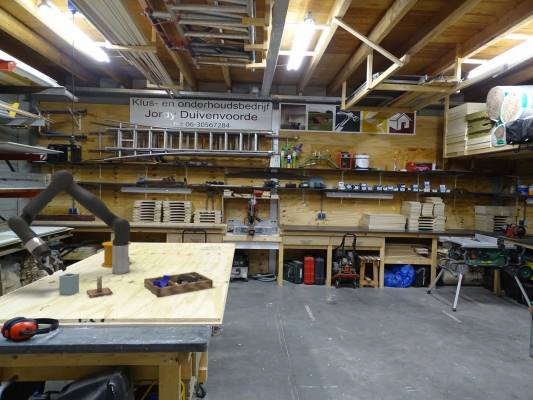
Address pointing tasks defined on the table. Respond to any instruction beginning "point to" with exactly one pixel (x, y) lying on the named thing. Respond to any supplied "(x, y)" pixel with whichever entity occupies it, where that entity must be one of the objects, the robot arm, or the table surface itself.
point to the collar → (68, 284)
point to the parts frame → (176, 288)
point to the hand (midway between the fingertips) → (58, 272)
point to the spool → (108, 254)
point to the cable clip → (162, 282)
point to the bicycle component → (187, 279)
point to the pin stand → (99, 290)
